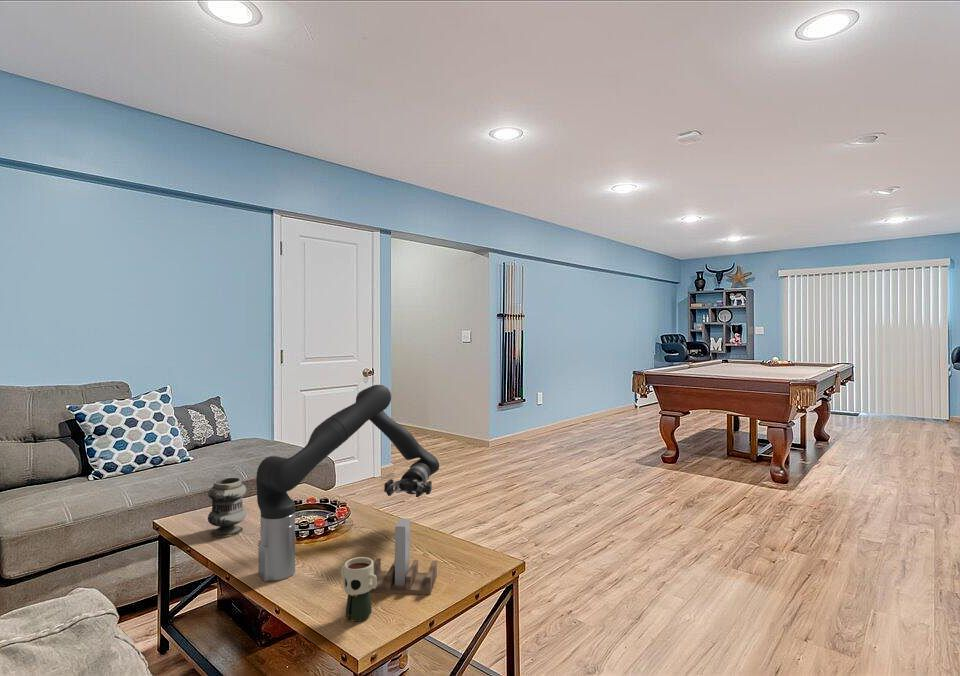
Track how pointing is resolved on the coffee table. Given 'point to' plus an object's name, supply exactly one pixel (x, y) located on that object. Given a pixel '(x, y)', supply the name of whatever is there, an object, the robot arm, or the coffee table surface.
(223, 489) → the grey stone urn vase
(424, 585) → the drying rack
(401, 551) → the clay strip
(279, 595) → the coffee table surface
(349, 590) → the character mug
